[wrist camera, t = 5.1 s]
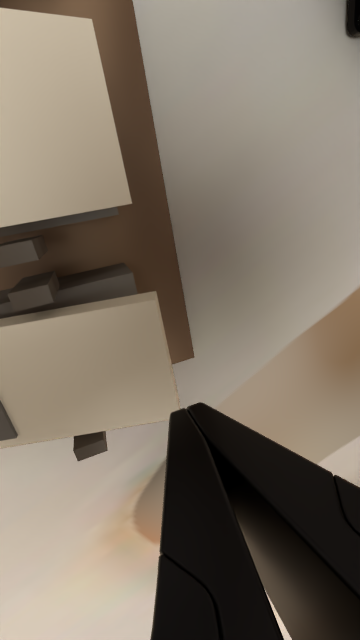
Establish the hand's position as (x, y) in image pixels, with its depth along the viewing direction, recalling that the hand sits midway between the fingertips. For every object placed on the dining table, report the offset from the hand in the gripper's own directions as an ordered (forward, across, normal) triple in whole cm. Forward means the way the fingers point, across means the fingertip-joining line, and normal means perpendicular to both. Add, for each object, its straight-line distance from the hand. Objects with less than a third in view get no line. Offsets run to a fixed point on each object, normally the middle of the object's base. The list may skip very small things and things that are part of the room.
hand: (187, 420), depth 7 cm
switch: (+5, +3, 0) cm, 6 cm away
